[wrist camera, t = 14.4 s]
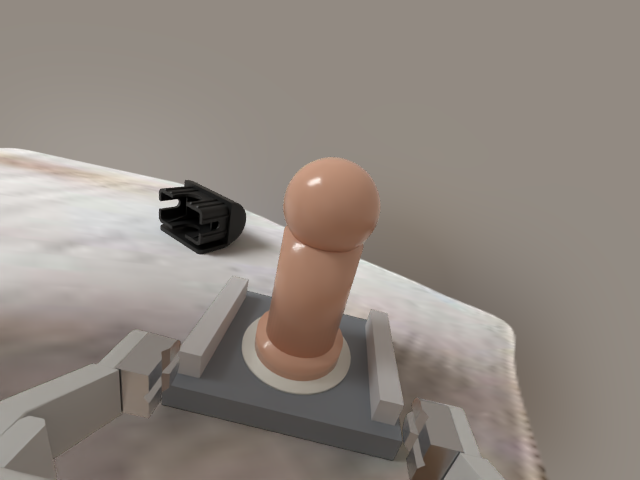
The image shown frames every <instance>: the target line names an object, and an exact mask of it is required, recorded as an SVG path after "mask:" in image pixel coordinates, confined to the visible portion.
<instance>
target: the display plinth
mask: <svg viewBox="0 0 640 480" xmlns="http://www.w3.org/2000/svg"><path fill="white" fill-rule="evenodd" d="M247 287H248V279H244V278H240V277H236V276H232V277H231V278H230V279H229V281H228V282H227V284H226V285H225V286H224V288H223V289H222V290H221V292H220V293H219V294H218V296H217V297H216V299H215V300H214V301H213V303H212V304H211V305H210V307H209V308H208V309H207V311H206V312H205V314H204V315H203V316H202V318H201V319H200V320H199V322H198V323H197V324H196V326H195V327H194V329H193V330H192V331H191V333H190V334H189V335H188V337H187V338H186V339H185V341H184V342H183V344H182V345H181V346H180V350H179V352H178V353H177V355H178V357H179V358H180V365H179V369H178V372H177V375H176V377H175V379H174V381H173V383H172V384H171V386H170V387H169V388H168V389H166V390H164V391H163V392H162V405H166V406H171V407H175V408H179V409H183V410H187V411H191V412H195V413H199V414H203V415H208V416H212V417H216V418H220V419H224V420H228V421H232V422H236V423H240V424H245V425H249V426H253V427H257V428H261V429H265V430H269V431H273V432H278V433H282V434H286V435H290V436H294V437H298V438H302V439H306V440H310V441H315V442H319V443H323V444H327V445H331V446H335V447H339V448H343V449H347V450H352V451H356V452H360V453H364V454H368V455H372V456H376V457H380V458H385V459H389V460H394V458H395V456H396V454H397V452H398V450H399V448H400V446H401V444H402V442H403V441H402V435H401V429H400V422H399V415H400V413H401V411H402V409H403V407H404V402H403V397H402V391H401V386H400V380H399V375H398V369H397V364H396V358H395V353H394V347H393V342H392V336H391V331H390V325H389V320H388V314H387V313H384V312H380V311H376V310H372V309H371V311H370V314H369V316H368V319H367V320H365V319H361V318H357V317H353V316H349V315H344V314H343V316H342V319H341V322H340V326H339V328H340V330H341V332H342V335H343V346H342V349H341V353H340V356H339V359H338V362H337V364H336V366H335V368H334V369H333V370H332V371H331V372H330V373H329V374H327V375H326V376H324V377H322V378H319V379H316V380H311V381H295V380H290V379H286V378H283V377H281V376H278V375H276V374H275V373H273V372H271V371H270V370H269V369H267V368H266V367H265V366H264V365H263V364H262V363H261V361H260V360H259V358H258V356H257V354H256V351H255V337H256V331H257V325H258V322H259V320H260V318H261V317H262V316H263V314H265V313H266V312H267V311H269V309H270V304H271V299H272V297H270V296H266V295H262V294H258V293H254V292H249V291H247Z"/></svg>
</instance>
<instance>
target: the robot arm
mask: <svg viewBox="0 0 640 480" xmlns="http://www.w3.org/2000/svg"><path fill="white" fill-rule="evenodd" d="M179 350H180V341H179V340H176V339H173V338H169V337H165V336H161V335H158V334H154V333H149V332H146V331H142V330H138V329H135V330H133V331H131V332H130V333H129V334H128V335H127V336H126V337H125V338H124V339H123V340H122V341H121V342H120V343H119V344H117V345H116V346H115V347H114V348H113V349H112V350H111V351H110V352H109V353H108V354H107V355H106V356H105V357H104V358H103V359H102V360H101V361H100V362H99V363H98V364H93V363H92V364H90V365H87V366H85V367H83V368H80V369H78V370H75V371H73V372H70V373H68V374H65V375H63V376H60V377H58V378H56V379H53V380H51V381H48V382H46V383H43V384H41V385H38V386H36V387H33V388H31V389H29V390H26V391H24V392H21V393H19V394H16V395H14V396H11V397H9V398H6V399H4V400H2V401H0V480H57V475H56V471H55V466H54V461H53V459H54V458H56V457H57V456H59V455H60V454H62V453H63V452H65V451H66V450H68V449H70V448H71V447H73V446H74V445H76V444H77V443H79V442H80V441H82V440H83V439H85V438H86V437H88V436H89V435H91V434H92V433H94V432H95V431H97V430H98V429H100V428H101V427H103V426H105V425H106V424H108V423H109V422H111V421H112V420H114V419H115V418H117V417H118V416H120V415H121V413H126V414H131V415H135V416H140V417H145V418H149V417H150V416H151V414H152V413H153V411H154V410H155V408H156V407H157V405H158V404H159V402H160V401H161V393H162V392H163V391H164V390H166V389H168V388H169V387H170V386H171V384H172V383H173V381H174V379H175V377H176V375H177V372H178V369H179V365H180V358H179V357H178V355H177V353H178V352H179ZM411 406H412V412H410V413H408V414H407V415H406V417H405V420H404V424H403V442H404V446H405V447H406V448H407V450H408V451H409V455H408V457H407V458H406V461H407V467H408V473H409V479H410V480H505V479H504V478H503V476H502V475H501V474H500V473H499V472H498V471H497V470H496V469H495V468H494V466H493V465H492V464H491V463H490V462H489V461H488V460H487V459H485V458H482V456H481V453H480V451H479V448H478V446H477V443H476V441H475V438H474V435H473V433H472V430H471V428H470V425H469V423H468V420H467V417H466V415H465V412H464V410H463V409H462V408H460V407H456V406H452V405H447V404H443V403H439V402H435V401H430V400H426V399H422V398H415V399H414V401H413V403H412V405H411Z"/></svg>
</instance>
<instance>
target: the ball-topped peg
mask: <svg viewBox="0 0 640 480" xmlns="http://www.w3.org/2000/svg"><path fill="white" fill-rule="evenodd" d="M283 206H284V216H285V220H286V223H287V226H286V227H285V229H284V235H283V240H282V245H281V251H280V256H279V261H278V267H277V272H276V277H275V283H274V288H273V293H272V299H271V304H270V309H269V311H267V312H266V313H265V314H263V316H262V317H261V318H260V320H259V322H258V325H257V331H256V337H255V351H256V354H257V356H258V358H259V360H260V361H261V363H262V364H263V365H264V366H265V367H266V368H267V369H269V370H270V371H271V372H273V373H275V374H276V375H278V376H281V377H283V378H286V379H290V380H295V381H311V380H316V379H319V378H322V377H324V376H326V375H327V374H329V373H330V372H331V371H332V370H333V369H334V368H335V366H336V364H337V362H338V359H339V356H340V353H341V349H342V346H343V335H342V332H341V330H340V328H339V326H340V322H341V319H342V316H343V312H344V309H345V306H346V303H347V299H348V296H349V293H350V290H351V286H352V283H353V280H354V277H355V273H356V270H357V267H358V263H359V260H360V257H361V254H362V250H363V243H364V242H365V241H366V240H367V239H368V238H369V237H370V235H371V234H372V232H373V230H374V229H375V227H376V224H377V222H378V219H379V215H380V198H379V193H378V190H377V187H376V185H375V183H374V181H373V179H372V178H371V176H370V175H369V174H368V173H367V172H366V171H365V170H364V169H363V168H362V167H360V166H359V165H357V164H355V163H354V162H351V161H349V160H346V159H343V158H335V157H330V158H322V159H318V160H315V161H312V162H311V163H309V164H307V165H305V166H304V167H303V168H301V169H300V170H299V171H298V172H297V173H296V174H295V175H294V177H293V178H292V179H291V181H290V183H289V185H288V187H287V189H286V192H285V197H284V204H283Z"/></svg>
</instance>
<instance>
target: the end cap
mask: <svg viewBox="0 0 640 480" xmlns="http://www.w3.org/2000/svg"><path fill="white" fill-rule="evenodd" d="M173 199H178V200H179V203H178V205H177V206H175V207H169V208H162V209H159V219H160V221H161V222H162V223H163V224H162V225H161V230H162V231H163V232H165V233H166V234H168V235H169V236H171V237H173V238H174V239H176V240H177V241H179V242H180V243H182V244H183V245H185V246H186V247H188V248H189V249H191V250H193V251H194V252H196V253H197V254H205V253H208V252H211V251H215V250H218V249H221V248H224V247H226V246H228V245H229V244H230V243H232V242H233V241H234V240H236V239H237V238H238V237H239V236H240V234H241V233H242V231H243V229H244V226H245V223H246V213H245V210H244V209H243V207H242V206H241V205H240V204H238V203H236V202H234V201H232V200H230V199H228V198H226V197H224V196H222V195H220V194H218V193H216V192H214V191H212V190H210V189H208V188H206V187H203V186H202V185H200V184H198V183H195V182H193V181H190V180H185V186H184V187H175V188H164V189H160V190H159V200H160V201H165V200H173Z"/></svg>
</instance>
